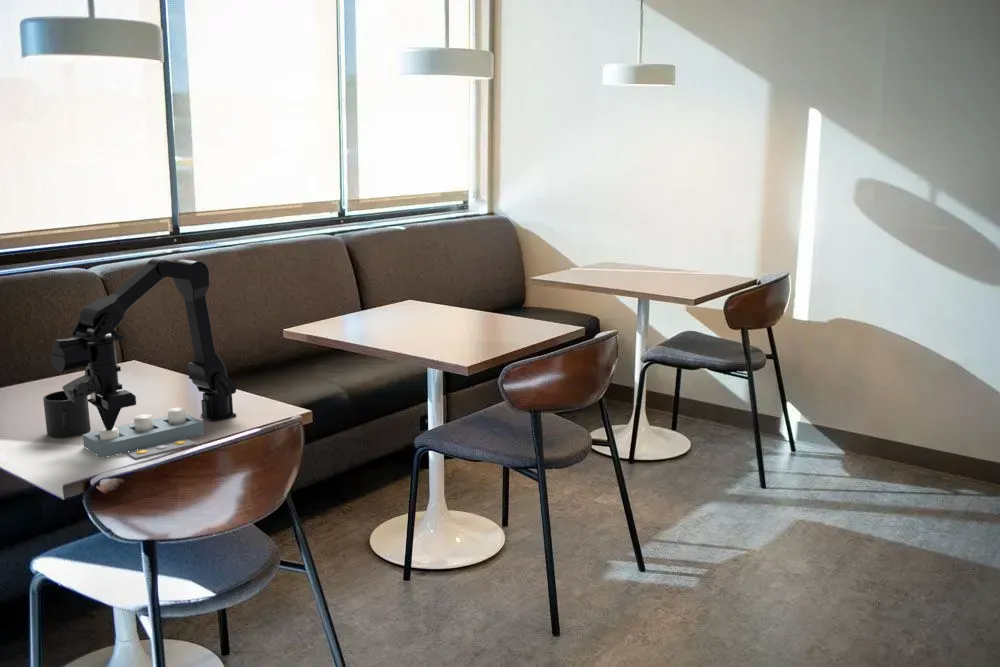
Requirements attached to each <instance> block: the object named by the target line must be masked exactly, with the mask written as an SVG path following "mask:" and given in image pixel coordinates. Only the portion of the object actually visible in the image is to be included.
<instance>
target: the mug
mask: <svg viewBox="0 0 1000 667" xmlns="http://www.w3.org/2000/svg"><path fill="white" fill-rule="evenodd" d="M42 400H43V408H44V418H45V429H46V434H47V436H48V437H49V438H54V439H69V438H74V437H75V436H76V437H79V436H83V434H87V433H90V430H91V420H90V410H89V409H90V408H89V402H88V401H87V400H88V396H86V397H85V398H83V399H82V400H81V401H79V402H77V403H74V402H72V401H71V400H69V399H68V398H67V396H66V394H65V392H64V390H60V391H54V392H50V393H48V394H46V395H44V396H43V399H42Z"/></svg>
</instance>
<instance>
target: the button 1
mask: <svg viewBox="0 0 1000 667" xmlns="http://www.w3.org/2000/svg"><path fill="white" fill-rule="evenodd" d="M116 427H117V426H114V427H113V429H112V430H110V431H107V430H106V429H105V427H104V428H101V429H100V430H98V431H99V433H100V440H102V441H104V440H109V439H113V438H118V437H119V429H118V428H116Z"/></svg>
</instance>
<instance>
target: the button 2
mask: <svg viewBox="0 0 1000 667" xmlns="http://www.w3.org/2000/svg"><path fill="white" fill-rule="evenodd" d="M186 411H187V410H186V408H185V407H172V408H169V409H167V416H168V423H169V424H171V425H175V424H180V423H184V422H186V414H187V412H186Z"/></svg>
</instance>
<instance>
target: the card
mask: <svg viewBox="0 0 1000 667" xmlns="http://www.w3.org/2000/svg"><path fill="white" fill-rule="evenodd" d="M193 445H194V446H196V445H197V443H196V442H195V441H192V440H191V439H189V438H184V439H180V440H175V441H171V442H167V443H163V444H159V445H154V446H150V447H146V448H142V449H138V450H133V451H129V452H126V453H125V455H127V454H128V455H127V456H129V458H132V459H134V460H135V461H136V460H140V459H144V458H148V457H151V456H156V455H160V454H164V453H168V452H173V451H176V450H181V449H184V448H185V449H186V448H189V447H192V446H193Z"/></svg>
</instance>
